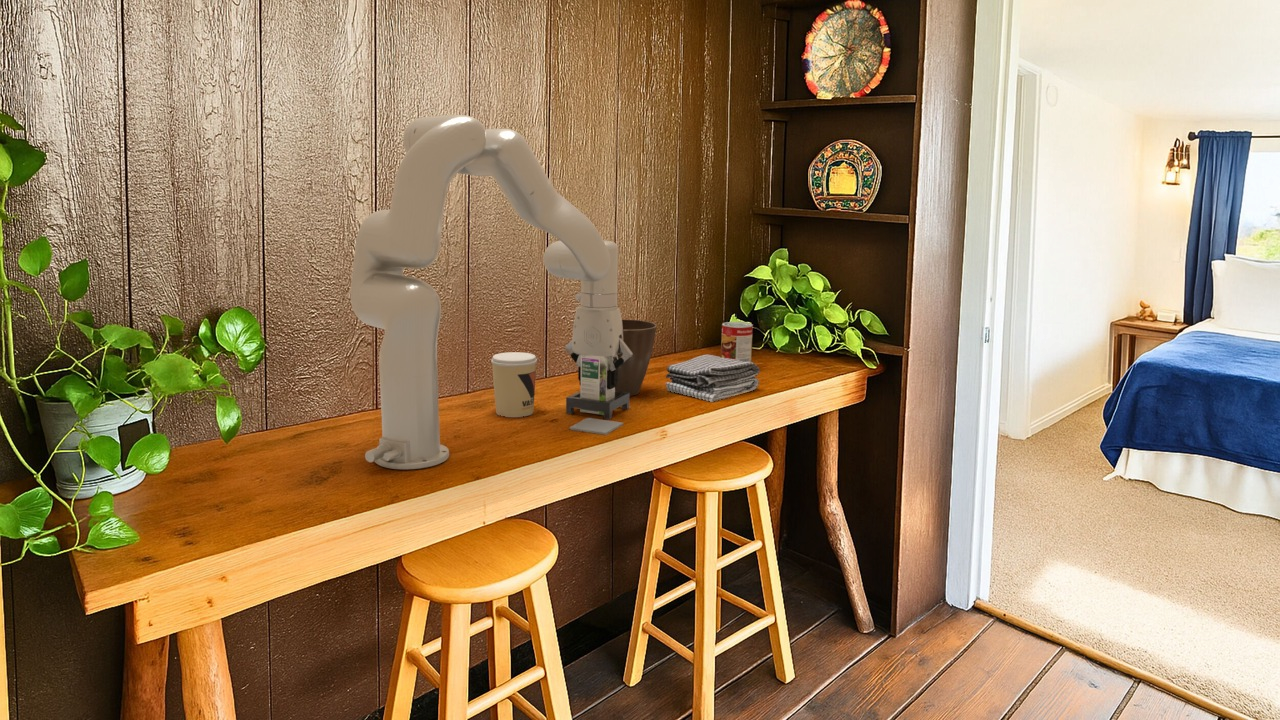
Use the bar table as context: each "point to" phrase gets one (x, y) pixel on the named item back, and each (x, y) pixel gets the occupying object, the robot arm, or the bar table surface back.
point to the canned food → (737, 341)
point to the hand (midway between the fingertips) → (597, 385)
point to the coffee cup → (514, 383)
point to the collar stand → (598, 403)
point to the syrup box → (595, 380)
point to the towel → (712, 377)
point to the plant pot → (635, 354)
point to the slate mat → (596, 426)
